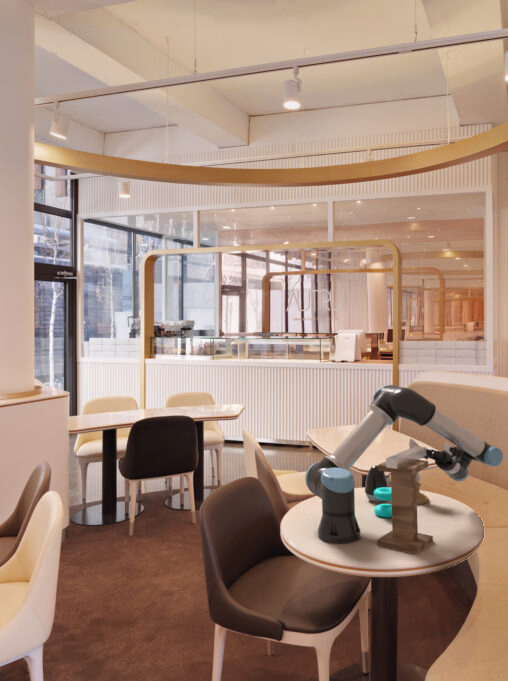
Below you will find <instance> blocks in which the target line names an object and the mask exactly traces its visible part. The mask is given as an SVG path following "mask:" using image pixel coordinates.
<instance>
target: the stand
mask: <svg viewBox="0 0 508 681" xmlns="http://www.w3.org/2000/svg"><path fill="white" fill-rule="evenodd" d="M377 466H378V471H385V472H388V473H390V488H391V495H392V500H391V504H392V518H391V525H392V526H391V528H392V529H391V530H390V531H388V532H387V533H385V534H384V535H382V536H381V537H379V538H378V539H376V541H377V542H376V544H377V546H379V547H383V548H386V549H390V548H391V550H396V551H400V552H403V551H404V553H408V554H412V555H419V553H421V552H422V551H423V550H424V549H426V547H428V546H429V545H431V544H433V542H434V536H433V535H430V534H425V533H421V532H420V533H419V532H418V531H419V529H418V528H419V526H418V525H419V524H418V504H417V483H416V473H417V472H418V473H420V472H421V471H422V470H423V471H424V470H425V469H427V468H429V460H421V459H419V460H416V461H413V462H411V463H409V464H407V465H405V466H403V467H400V468H398V469H394V468H387V467H386V461H383V462H382V463H379V464H377Z"/></svg>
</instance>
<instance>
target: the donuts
mask: <svg viewBox="0 0 508 681" xmlns="http://www.w3.org/2000/svg"><path fill="white" fill-rule="evenodd" d="M374 496H375V497H376V498H378V499H380V500H384V501H386V502H387V501H388V502H389V501H391V502H392V495H391V487H390V488H389V487H382V488H377V489H376V490H375V491H374ZM384 501H383V502H384ZM373 511H374V514H375V515H376V516H378V517H380V518H385V517H386V518H387V519H391V518H390V517H392V503H381V504H377V505H376V506H375V507H374V510H373ZM388 517H389V518H388Z"/></svg>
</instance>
